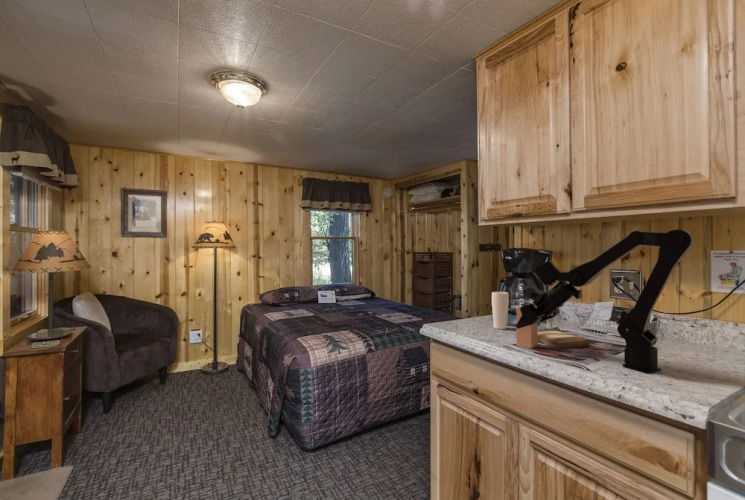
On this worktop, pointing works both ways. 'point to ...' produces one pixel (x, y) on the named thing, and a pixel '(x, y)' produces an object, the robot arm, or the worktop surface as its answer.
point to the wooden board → (561, 339)
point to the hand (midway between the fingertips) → (523, 325)
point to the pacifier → (549, 325)
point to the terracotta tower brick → (526, 333)
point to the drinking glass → (500, 309)
